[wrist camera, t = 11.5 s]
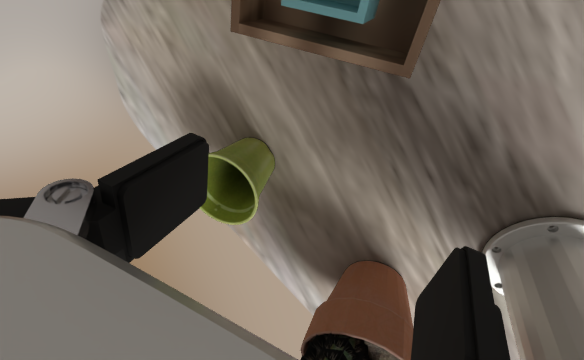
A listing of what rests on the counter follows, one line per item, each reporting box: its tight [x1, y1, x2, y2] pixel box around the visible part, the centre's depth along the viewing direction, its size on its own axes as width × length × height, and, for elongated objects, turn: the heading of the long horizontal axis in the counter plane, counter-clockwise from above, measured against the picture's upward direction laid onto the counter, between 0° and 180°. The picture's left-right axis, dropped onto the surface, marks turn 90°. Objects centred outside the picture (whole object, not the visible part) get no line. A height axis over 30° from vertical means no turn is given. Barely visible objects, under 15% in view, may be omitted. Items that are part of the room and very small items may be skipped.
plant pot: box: [200, 138, 275, 225], centre depth 37 cm, size 9×9×9 cm
